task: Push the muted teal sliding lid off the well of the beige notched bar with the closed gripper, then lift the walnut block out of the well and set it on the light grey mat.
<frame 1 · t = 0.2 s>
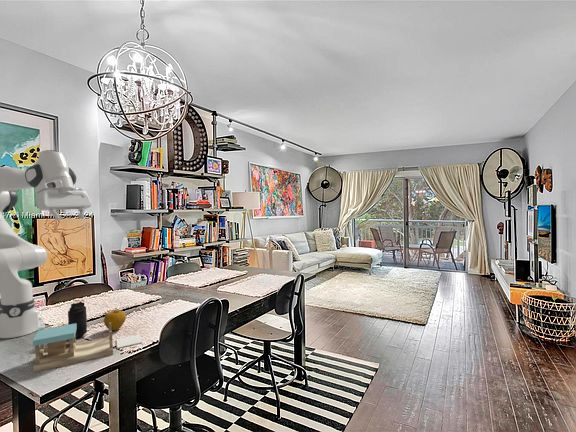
hand: (70, 219, 131), 52 cm above the table, tool tilted 20°, fingers open, 8 cm apart
sliding lid: (56, 334, 119), point 10 cm above the table, slide at 0.0 cm
apple: (115, 330, 146), on the table
beige notched bar: (75, 355, 122), on the table
walnut block: (57, 354, 119), point 2 cm above the table, touching beige notched bar
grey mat: (129, 341, 133), on the table
grenade: (79, 336, 140), on the table
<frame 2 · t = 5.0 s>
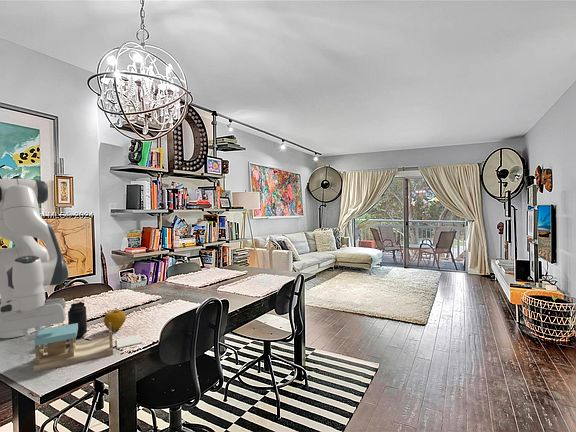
hand: (32, 339, 115), 9 cm above the table, tool pointing down, fingers closed
sliding lid: (57, 333, 119), point 10 cm above the table, slide at 0.5 cm, touching gripper
everything else where it was.
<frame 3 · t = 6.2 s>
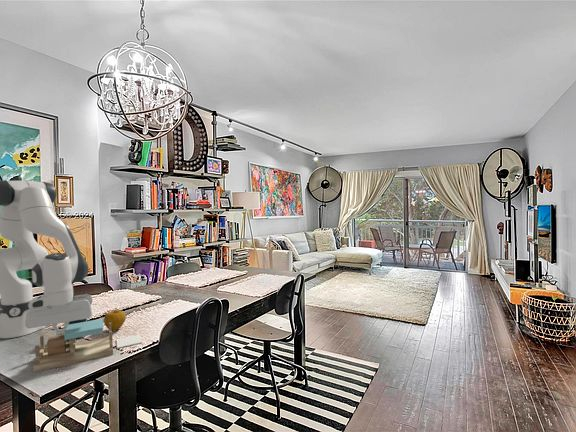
hand: (61, 334, 119), 9 cm above the table, tool pointing down, fingers closed
sliding lid: (84, 328, 123), point 10 cm above the table, slide at 9.1 cm, touching gripper
everything else where it was.
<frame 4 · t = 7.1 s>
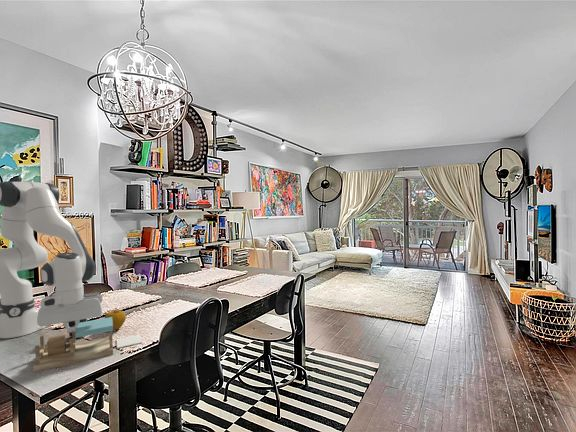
hand: (72, 332, 121), 9 cm above the table, tool pointing down, fingers closed
sliding lid: (95, 326, 125), point 10 cm above the table, slide at 12.4 cm, touching gripper
everything else where it was.
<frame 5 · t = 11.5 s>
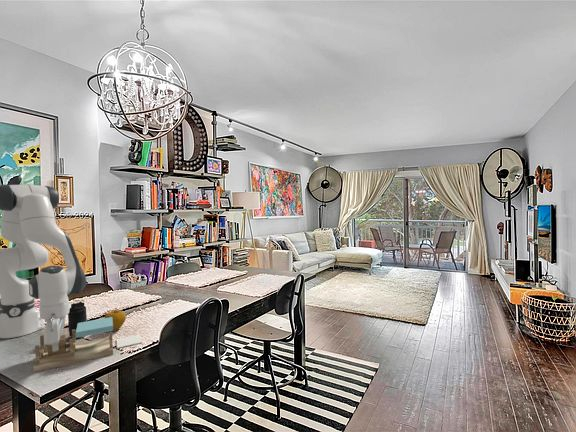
hand: (56, 347, 119), 5 cm above the table, tool pointing down, fingers closed on walnut block, 5 cm apart
sliding lid: (95, 326, 125), point 10 cm above the table, slide at 12.5 cm
walnut block: (57, 354, 119), point 2 cm above the table, touching gripper, beige notched bar
everything else where it was.
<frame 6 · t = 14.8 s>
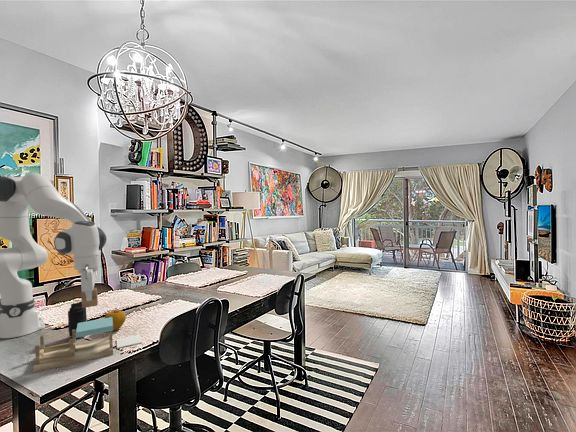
hand: (89, 298, 124), 21 cm above the table, tool pointing down, fingers closed on walnut block, 5 cm apart
walnut block: (90, 305, 124), point 18 cm above the table, touching gripper
everything else where it was.
when the fingers open (5 cm above the table, at t = 18.2 s): walnut block drops 1 cm, resting on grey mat.
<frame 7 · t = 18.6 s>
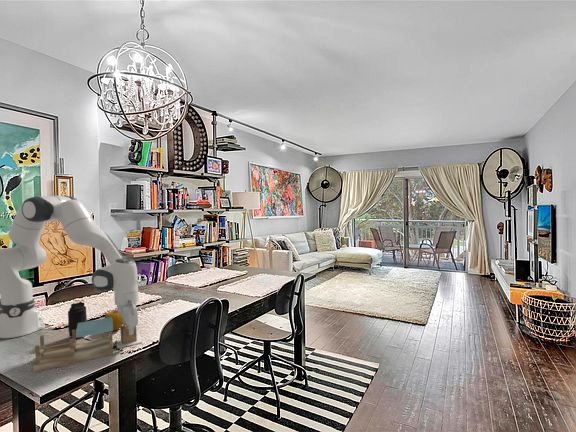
hand: (128, 331, 133), 5 cm above the table, tool pointing down, fingers open, 8 cm apart
walnut block: (128, 340, 133), resting on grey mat
everything else where it was.
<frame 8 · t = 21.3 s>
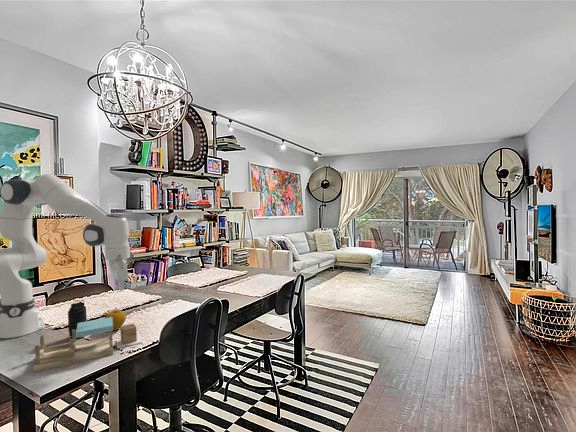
hand: (119, 287, 131), 23 cm above the table, tool pointing down, fingers open, 8 cm apart
nothing on the table moved.
at the end: sliding lid slide at 12.5 cm; walnut block inside the target area on the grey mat (0.1 cm from its centre), point 0.5 cm above the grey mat's base; walnut block tilted 0° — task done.
